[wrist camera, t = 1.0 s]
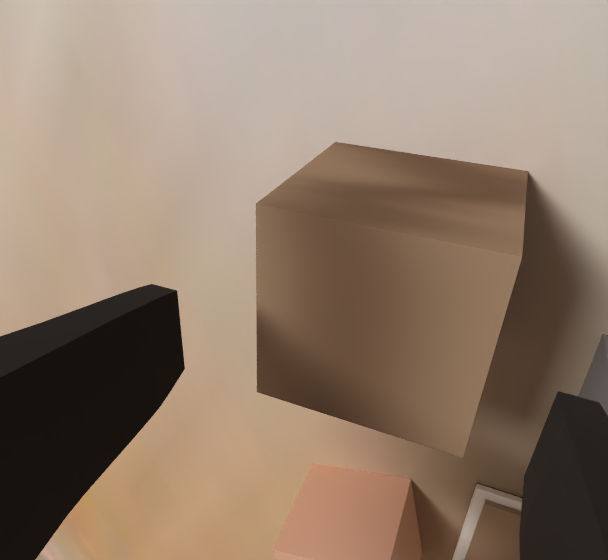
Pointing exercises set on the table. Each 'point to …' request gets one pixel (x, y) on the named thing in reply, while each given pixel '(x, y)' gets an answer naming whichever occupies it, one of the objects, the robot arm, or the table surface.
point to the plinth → (598, 376)
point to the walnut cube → (387, 288)
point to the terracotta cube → (351, 518)
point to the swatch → (490, 527)
